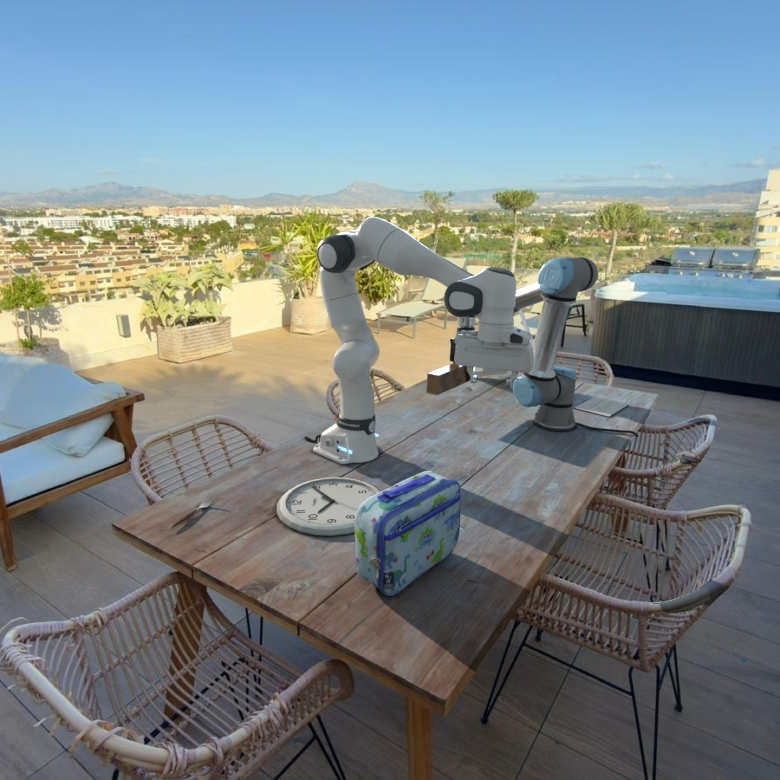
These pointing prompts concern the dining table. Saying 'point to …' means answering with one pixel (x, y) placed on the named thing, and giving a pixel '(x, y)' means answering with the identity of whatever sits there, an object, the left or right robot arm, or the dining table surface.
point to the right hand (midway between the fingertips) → (462, 379)
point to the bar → (446, 378)
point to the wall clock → (324, 505)
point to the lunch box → (406, 530)
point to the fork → (203, 505)
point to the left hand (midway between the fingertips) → (491, 384)
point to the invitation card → (601, 406)
